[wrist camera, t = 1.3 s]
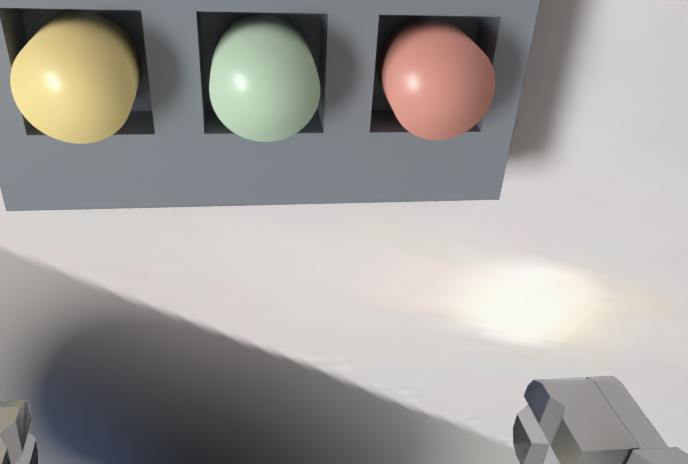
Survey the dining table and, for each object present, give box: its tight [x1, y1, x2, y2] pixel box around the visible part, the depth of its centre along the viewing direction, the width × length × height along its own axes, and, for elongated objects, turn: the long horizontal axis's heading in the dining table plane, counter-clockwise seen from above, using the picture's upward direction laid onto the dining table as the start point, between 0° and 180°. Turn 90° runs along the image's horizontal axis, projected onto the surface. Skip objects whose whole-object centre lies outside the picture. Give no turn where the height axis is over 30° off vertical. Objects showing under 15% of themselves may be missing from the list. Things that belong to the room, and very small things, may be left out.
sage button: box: [209, 14, 320, 142], centre depth 26 cm, size 4×4×3 cm
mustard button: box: [10, 11, 142, 144], centre depth 25 cm, size 4×4×3 cm
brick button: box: [378, 17, 495, 140], centre depth 27 cm, size 4×4×3 cm
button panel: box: [0, 0, 540, 211], centre depth 28 cm, size 22×12×4 cm, turn 87°
